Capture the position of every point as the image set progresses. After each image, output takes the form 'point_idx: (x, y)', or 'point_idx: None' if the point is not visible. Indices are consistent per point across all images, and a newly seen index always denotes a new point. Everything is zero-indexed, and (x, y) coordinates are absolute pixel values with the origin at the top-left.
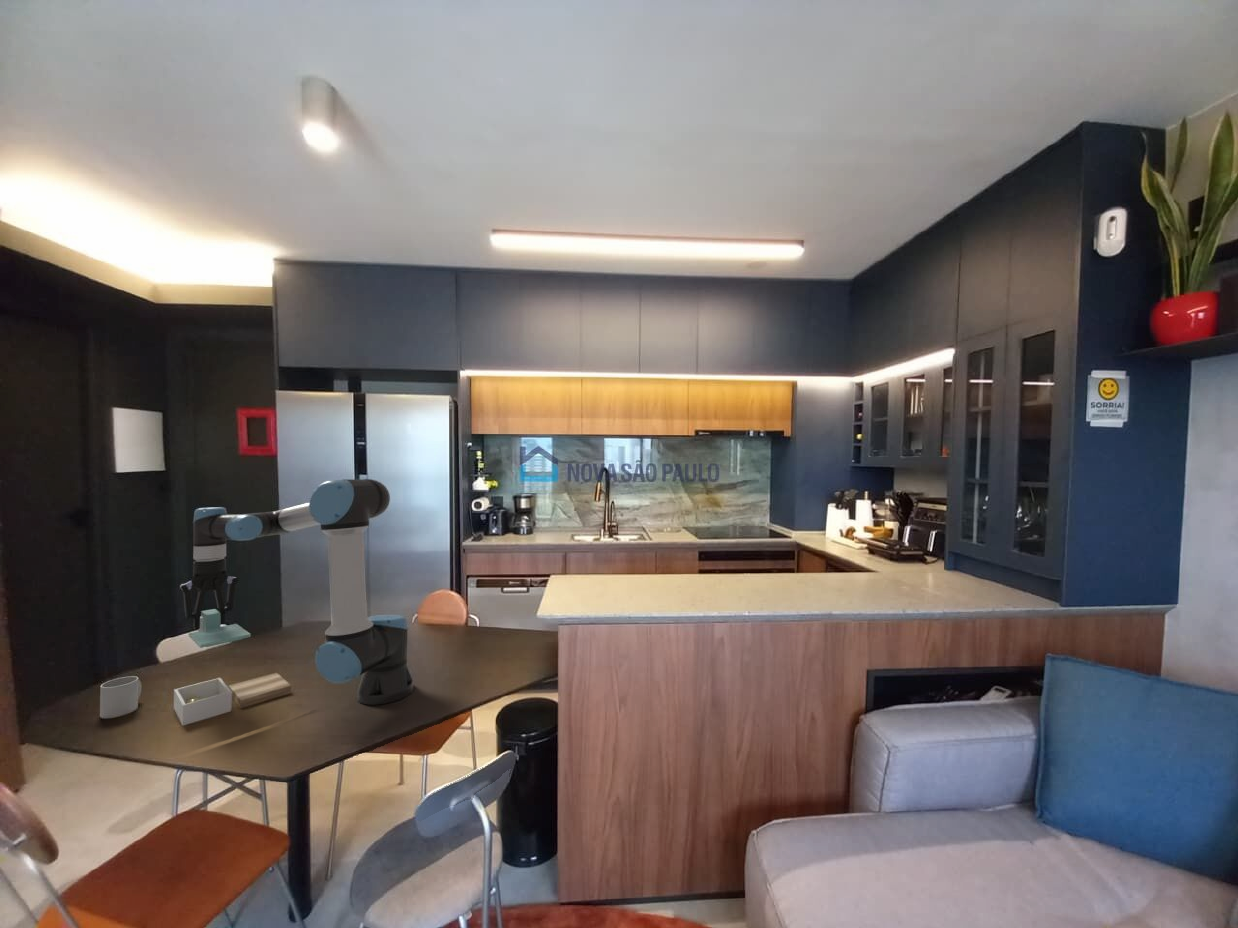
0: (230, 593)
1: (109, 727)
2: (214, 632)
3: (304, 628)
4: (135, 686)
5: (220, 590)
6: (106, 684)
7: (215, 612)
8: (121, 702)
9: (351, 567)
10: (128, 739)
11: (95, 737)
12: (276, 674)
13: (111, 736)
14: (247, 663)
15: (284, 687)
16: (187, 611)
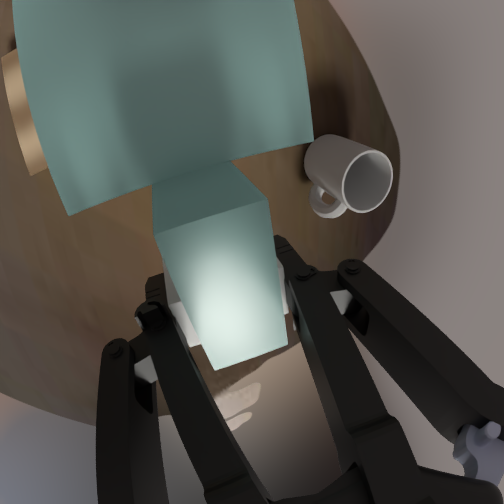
0: (121, 469)
1: (337, 101)
2: (179, 47)
3: (89, 423)
4: (338, 163)
5: (215, 502)
6: (380, 195)
7: (198, 267)
8: (343, 140)
9: None
10: (307, 14)
11: (351, 70)
12: (29, 160)
13: (332, 52)
14: (130, 322)
15: (13, 50)
16: (382, 285)
